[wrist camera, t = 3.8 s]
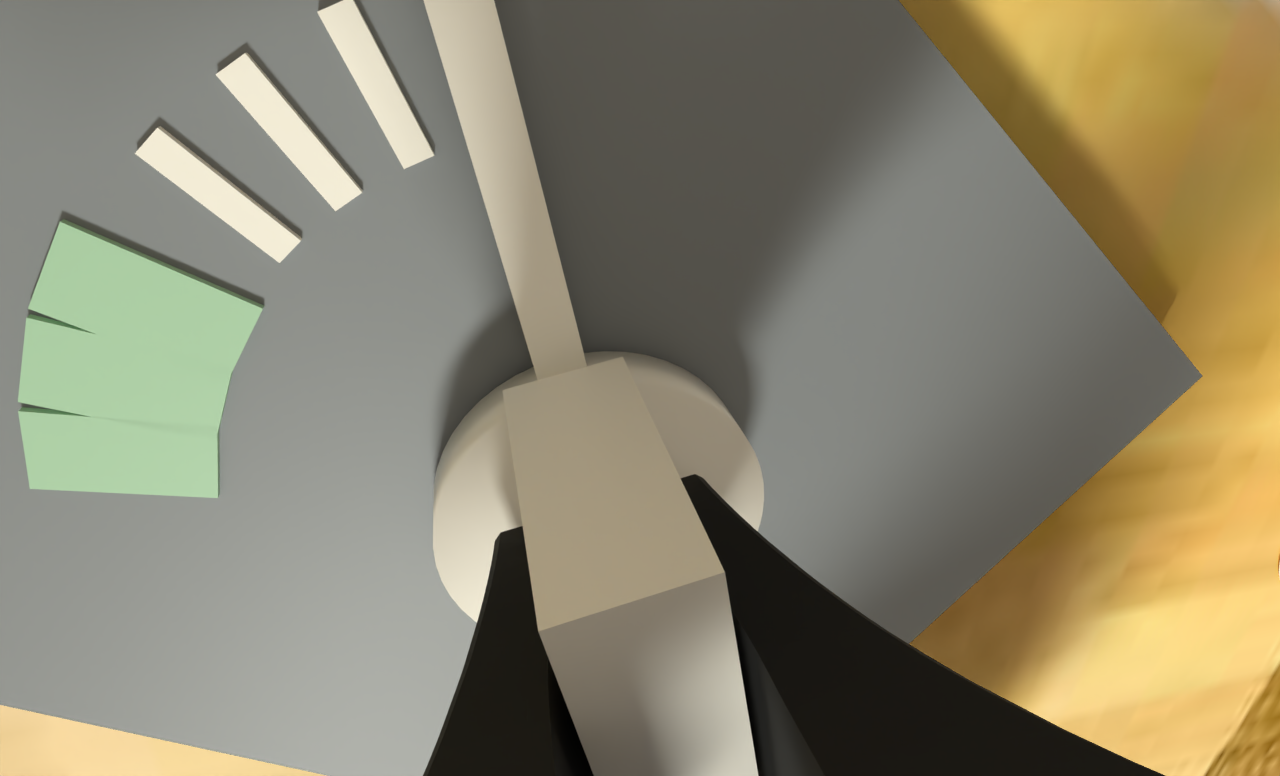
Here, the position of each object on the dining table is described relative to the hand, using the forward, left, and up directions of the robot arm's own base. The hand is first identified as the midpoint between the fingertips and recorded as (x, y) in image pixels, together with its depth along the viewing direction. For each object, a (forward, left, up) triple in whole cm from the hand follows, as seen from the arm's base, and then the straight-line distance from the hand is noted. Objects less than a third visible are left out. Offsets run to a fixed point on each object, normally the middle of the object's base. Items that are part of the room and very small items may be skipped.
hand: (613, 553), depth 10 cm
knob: (+2, -2, -2) cm, 3 cm away
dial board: (0, 0, -3) cm, 3 cm away
